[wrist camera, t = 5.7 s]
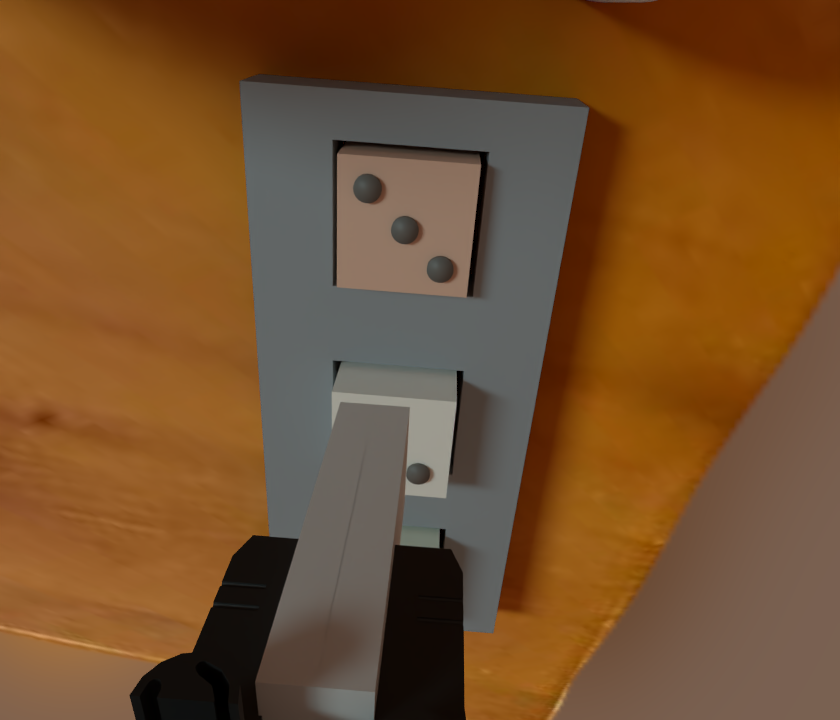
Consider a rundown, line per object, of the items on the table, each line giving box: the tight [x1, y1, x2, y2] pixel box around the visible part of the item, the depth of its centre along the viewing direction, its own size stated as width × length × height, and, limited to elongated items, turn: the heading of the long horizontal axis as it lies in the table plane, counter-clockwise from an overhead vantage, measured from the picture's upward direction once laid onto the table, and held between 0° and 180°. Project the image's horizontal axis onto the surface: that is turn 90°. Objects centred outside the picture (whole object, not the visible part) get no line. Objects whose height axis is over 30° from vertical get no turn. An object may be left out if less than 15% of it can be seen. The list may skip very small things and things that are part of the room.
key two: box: [332, 361, 457, 498], centre depth 28 cm, size 5×5×3 cm
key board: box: [240, 74, 589, 633], centre depth 29 cm, size 27×12×2 cm, turn 176°
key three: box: [337, 141, 481, 298], centre depth 24 cm, size 5×5×3 cm
